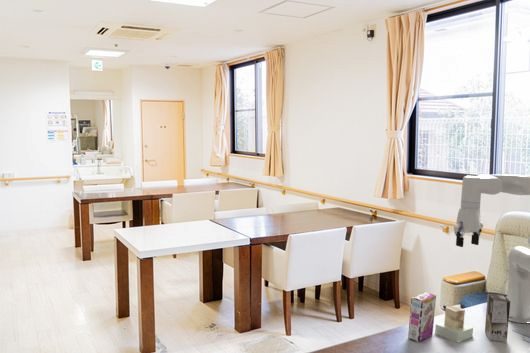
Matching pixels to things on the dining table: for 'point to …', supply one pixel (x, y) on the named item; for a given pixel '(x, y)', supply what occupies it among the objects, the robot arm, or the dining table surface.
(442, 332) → the sage base block
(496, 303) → the coffee box
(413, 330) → the candy bar box
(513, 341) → the dining table surface
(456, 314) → the beech block
